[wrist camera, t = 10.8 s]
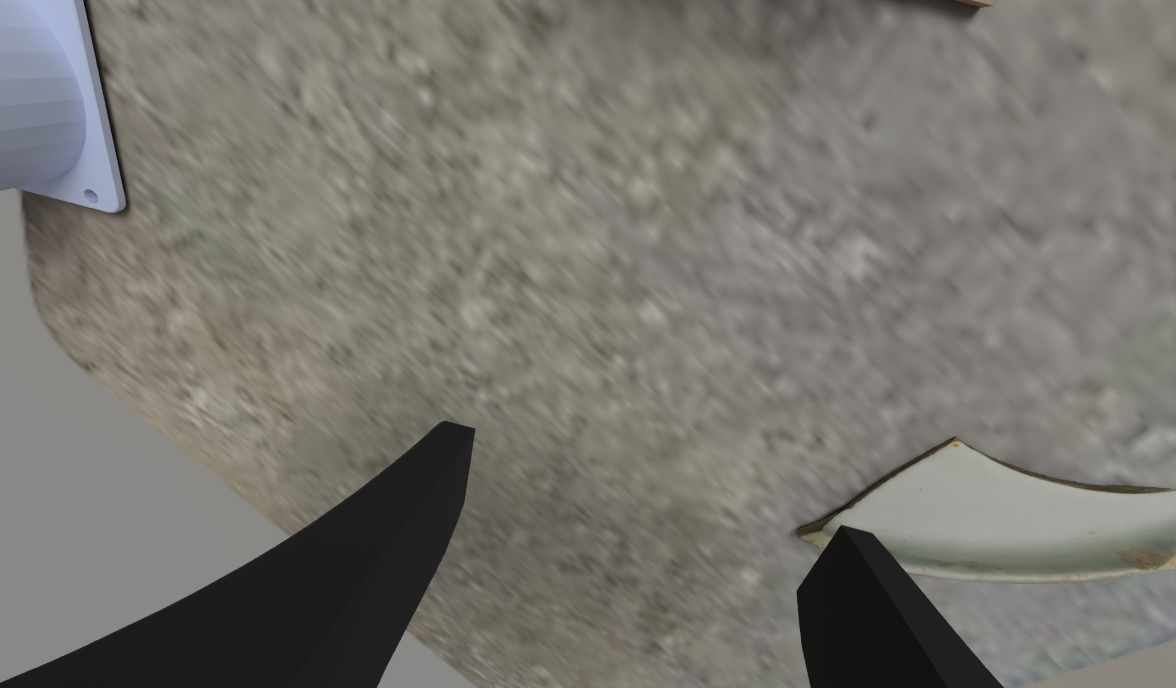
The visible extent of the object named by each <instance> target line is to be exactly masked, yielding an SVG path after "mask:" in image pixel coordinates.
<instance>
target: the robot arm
mask: <svg viewBox="0 0 1176 688" xmlns="http://www.w3.org/2000/svg"><path fill="white" fill-rule="evenodd" d="M10 188H16V189H20V190H24V191H28V192H32V193H35V194H39V195H43V196H47V197H51V198H54V199H58V200H62V201H66V202H70V203H74V204H77V205H81V206H85V207H89V208H93V209H96V210H100V211H104V212H108V213H115V212H118V211H121V210H123V209H124V208H125V206H126V200H125V196H124V191H123V186H122V182H121V177H120V172H119V167H118V163H117V158H116V153H115V148H114V144H113V139H112V134H111V130H110V125H109V120H108V115H107V111H106V106H105V101H104V97H103V92H102V87H101V82H100V78H99V73H98V68H97V63H96V59H95V54H94V49H93V45H92V40H91V35H90V30H89V26H88V21H87V16H86V12H85V7H84V2H83V0H0V190H5V189H10ZM95 194H96V195H97V197H98V198H97V197H96V195H95ZM474 435H475V428H471V427H467V426H463V425H459V424H456V423H452V422H448V421H443V422H441V423H439V424H438V425H437V426H435V427H434V428H433V429H432V430H431V431H430V432H429V433H428V434H427V435H426V436H424V437H423V438H422V439H421V440H420V441H419V442H418V443H416V444H415V445H414V446H413V447H412V448H411V449H409V450H408V451H407V452H406V453H405V454H403V455H402V456H401V457H400V458H399V459H397V460H396V461H395V462H394V463H393V464H391V465H390V466H389V467H388V468H386V469H385V470H384V471H382V472H381V473H380V474H379V475H377V476H376V477H375V478H373V479H372V480H371V481H370V482H368V483H367V484H366V485H364V486H363V487H362V488H361V489H359V490H358V491H357V492H355V493H354V494H352V495H351V496H350V497H348V498H347V499H345V500H344V501H343V502H341V503H340V504H338V505H337V506H335V507H334V508H333V509H331V510H330V511H328V512H327V513H326V514H324V515H323V516H321V517H320V518H318V519H317V520H316V521H314V522H313V523H311V524H310V525H308V526H307V527H305V528H304V529H302V530H301V531H299V532H297V533H296V534H294V535H293V536H291V537H290V538H288V539H287V540H285V541H283V542H282V543H280V544H279V545H277V546H276V547H274V548H272V549H270V550H269V551H267V552H266V553H264V554H262V555H260V556H259V557H257V558H255V559H254V560H252V561H250V562H249V563H247V564H245V565H244V566H242V567H240V568H238V569H236V570H234V571H233V572H231V573H229V574H227V575H225V576H224V577H222V578H220V579H218V580H216V581H215V582H213V583H211V584H209V585H208V586H206V587H204V588H202V589H200V590H198V591H196V592H195V593H193V594H191V595H189V596H187V597H185V598H183V599H181V600H179V601H177V602H176V603H174V604H172V605H170V606H168V607H166V608H164V609H162V610H160V611H158V612H155V613H153V614H151V615H149V616H147V617H145V618H143V619H141V620H139V621H137V622H135V623H133V624H130V625H128V626H126V627H124V628H122V629H120V630H118V631H116V632H113V633H111V634H109V635H107V636H105V637H103V638H101V639H99V640H97V641H95V642H92V643H90V644H88V645H86V646H84V647H82V648H80V649H78V650H76V651H73V652H71V653H69V654H67V655H64V656H62V657H60V658H58V659H55V660H53V661H51V662H49V663H46V664H44V665H41V666H39V667H37V668H34V669H32V670H29V671H27V672H25V673H22V674H20V675H18V676H15V677H13V678H10V679H8V680H5V681H3V682H1V683H0V688H377V685H378V684H379V682H380V680H381V677H382V675H383V673H384V671H385V669H386V667H387V665H388V663H389V661H390V659H391V657H392V655H393V653H394V651H395V649H396V647H397V645H398V643H399V641H400V640H401V637H402V636H403V634H404V632H405V630H406V628H407V626H408V624H409V622H410V620H411V618H412V616H413V614H414V613H415V611H416V609H417V607H418V605H419V603H420V601H421V599H422V597H423V595H424V593H425V591H426V589H427V587H428V585H429V583H430V581H431V579H432V578H433V576H434V574H435V572H436V570H437V568H438V566H439V564H440V562H441V560H442V558H443V556H444V554H445V552H446V549H447V547H448V544H449V542H450V539H451V536H452V534H453V531H454V529H455V526H456V524H457V521H458V518H459V516H460V513H461V510H462V508H463V505H464V501H465V494H466V488H467V481H468V474H469V468H470V461H471V455H472V448H473V441H474ZM797 603H798V615H799V626H800V634H801V643H802V649H803V654H804V659H805V663H806V668H807V672H808V677H809V681H810V686H811V688H1004V687H1003V686H1002V685H1001V684H1000V683H999V682H998V681H997V679H996V678H995V677H994V676H993V675H992V674H991V673H990V671H989V670H988V669H987V668H986V667H985V666H984V665H983V663H982V662H981V661H980V660H979V659H978V658H977V657H976V655H975V654H974V653H973V652H972V651H971V650H970V648H969V647H968V646H967V645H966V644H965V643H964V641H963V640H962V639H961V638H960V637H959V635H958V634H957V633H956V632H955V631H954V629H953V628H952V627H951V626H950V625H949V623H948V622H947V621H946V620H945V619H944V617H943V616H942V615H941V614H940V613H939V611H938V610H937V609H936V608H935V607H934V605H933V604H932V603H931V602H930V601H929V599H928V598H927V597H926V596H925V594H924V593H923V592H922V591H921V590H920V588H919V587H918V586H917V585H916V584H915V582H914V581H913V580H912V579H911V577H910V576H909V575H908V574H907V573H906V571H905V570H904V569H903V568H902V567H901V565H900V564H899V563H898V562H897V561H896V559H895V558H894V557H893V556H892V555H891V553H890V552H889V551H888V550H887V549H886V548H885V547H884V545H883V544H882V543H881V542H880V541H879V540H878V539H877V538H876V536H875V535H874V534H873V533H871V532H867V531H863V530H860V529H856V528H852V527H848V526H844V525H840V527H839V528H838V530H837V531H836V533H835V534H834V536H833V537H832V539H831V540H830V542H829V543H828V545H827V546H826V548H825V549H824V551H823V552H822V554H821V555H820V557H819V558H818V560H817V561H816V563H815V564H814V566H813V567H812V569H811V570H810V572H809V573H808V575H807V576H806V578H805V579H804V581H803V582H802V584H801V585H800V587H799V588H798V590H797Z"/></svg>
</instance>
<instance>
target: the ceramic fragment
mask: <svg viewBox="0 0 1176 688" xmlns="http://www.w3.org/2000/svg"><path fill="white" fill-rule="evenodd" d="M840 525H844V526H848V527H852V528H856V529H860V530H863V531H867V532H871V533H873V534H874V535H875V536H876V538H877V539H878V540H879V541H880V542H881V543H882V544H883V545H884V547H885V548H886V549H887V550H888V551H889V552H890V553H891V555H892V556H893V557H894V558H895V559H896V561H897V562H898V563H899V564H900V565H901V567H902V568H903V569H904V570H905V571H906V573H910V574H916V575H922V576H929V577H936V578H944V579H952V580H963V581H973V582H991V583H1019V584H1051V583H1075V582H1087V581H1097V580H1107V579H1115V578H1122V577H1128V576H1134V575H1140V574H1146V573H1152V572H1158V571H1164V570H1170V569H1174V568H1176V490H1175V489H1169V488H1156V487H1137V486H1117V485H1116V486H1099V485H1098V486H1095V485H1087V484H1083V483H1077V482H1075V481H1065V480H1059V479H1055V478H1052V477H1047V476H1046V475H1040V474H1037V473H1034V472H1031V471H1027V470H1024V469H1021V468H1019V467H1016V466H1013V465H1011V464H1007V463H1005V462H1002V461H999V460H997V459H995V458H992V457H990V456H988V455H986V454H984V453H982V452H980V451H978V450H976V449H974V448H972V447H971V446H969V445H967V444H966V443H964V442H963V441H962V440H960V439H959V438H957V437H956V436H955V437H953V438H952V439H949V440H947V441H945V442H944V443H942V444H940V445H938V446H937V447H935V448H933V449H931V450H929V451H928V452H926V453H924V454H923V455H921V456H919V457H917V458H916V459H914V460H912V461H911V462H909V463H907V464H905V465H904V466H902V467H901V468H899V469H897V470H896V471H894V472H893V473H891V474H890V475H888V476H887V477H885V478H884V479H882V480H881V481H880V482H878V483H877V484H876V485H874V486H873V487H871V488H870V489H869V490H867V491H866V492H865V493H863V494H862V495H861V496H859V497H858V498H857V499H855V500H854V501H853V502H851V503H850V504H848V505H847V506H845V507H843V508H842V509H840V510H839V511H837V512H835V513H834V514H832V515H830V516H828V517H827V518H825V519H822V520H820V521H818V522H816V523H813V524H811V525H808V526H806V527H803V528H800V529H798V530H797V536H798V537H800V538H801V539H802V540H804V541H806V542H809V543H811V544H813V545H815V546H817V547H818V548H822V549H825V548H826V546H827V545H828V543H829V542H830V540H831V539H832V537H833V536H834V534H835V533H836V531H837V530H838V528H839V527H840Z"/></svg>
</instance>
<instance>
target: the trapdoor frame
mask: <svg viewBox="0 0 1176 688" xmlns="http://www.w3.org/2000/svg"><path fill="white" fill-rule="evenodd" d="M955 1H959V2H962V3H966V4H970V5H974V6H978V7H989V6H994V4H995V2H996V0H955Z"/></svg>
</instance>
